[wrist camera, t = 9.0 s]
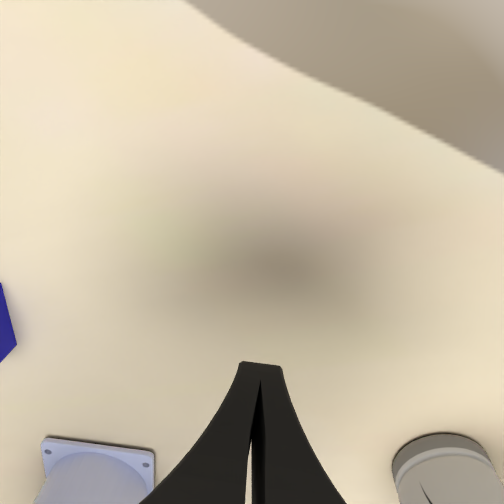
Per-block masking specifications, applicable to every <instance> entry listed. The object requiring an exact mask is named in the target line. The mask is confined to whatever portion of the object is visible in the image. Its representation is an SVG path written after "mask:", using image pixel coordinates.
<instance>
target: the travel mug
mask: <svg viewBox="0 0 504 504" xmlns="http://www.w3.org/2000/svg"><path fill="white" fill-rule="evenodd" d="M392 473H393V478H394V482H395V485H396V489H397V493H398V496H399V501H400V504H504V487H503V485H502V483H501V481H500V479H499V477H498V475H497V474H496V471H495V469H494V467H493V465H492V463H491V461H490V459H489V457H488V455H487V453H486V452H485V450H484V449H483V448H482V447H481V446H480V445H478V444H477V443H476V442H474V441H472V440H470V439H468V438H465V437H462V436H459V435H451V434H438V435H430V436H426V437H423V438H420V439H418V440H415V441H413V442H411V443H410V444H408V445H406V446H405V447H404V448H403V449H402V450H401V451H400V452H399V453H398V454H397V456H396V457H395V460H394V462H393V466H392Z"/></svg>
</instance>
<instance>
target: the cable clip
mask: <svg viewBox="0 0 504 504" xmlns="http://www.w3.org/2000/svg"><path fill="white" fill-rule="evenodd" d="M16 345H17V343H16V339H15V335H14V331H13V328H12V324H11V320H10V316H9V312H8V308H7V304H6V300H5V296H4V293H3V289H2V285H1V283H0V363H1V361H2V360H3V359H4V358H5V357H6V356H7V355H8V354H9V353H10V352H11V351H12V349H13V348H14V347H15V346H16Z"/></svg>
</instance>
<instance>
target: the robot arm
mask: <svg viewBox="0 0 504 504" xmlns="http://www.w3.org/2000/svg"><path fill="white" fill-rule="evenodd" d="M251 439H252V504H346V502H345V501H344V499H343V498H342V497H341V495H340V494H339V492H338V491H337V489H336V488H335V487H334V485H333V484H332V482H331V480H330V479H329V477H328V475H327V474H326V472H325V471H324V469H323V467H322V466H321V464H320V462H319V460H318V459H317V457H316V455H315V453H314V451H313V449H312V447H311V445H310V444H309V441H308V439H307V437H306V435H305V433H304V431H303V429H302V427H301V424H300V422H299V420H298V417H297V415H296V412H295V410H294V407H293V405H292V402H291V399H290V396H289V393H288V390H287V387H286V384H285V380H284V376H283V371H282V368H281V367H280V366H277V365H269V364H261V363H254V362H246V361H242V362H241V363H239V367H238V370H237V373H236V376H235V378H234V381H233V383H232V385H231V387H230V389H229V391H228V393H227V395H226V397H225V399H224V401H223V402H222V404H221V406H220V408H219V409H218V411H217V413H216V414H215V416H214V417H213V419H212V420H211V422H210V423H209V425H208V426H207V428H206V429H205V431H204V432H203V434H202V435H201V436H200V438H199V439H198V440H197V442H196V443H195V444H194V446H193V447H192V448H191V449H190V451H189V452H188V453H187V454H186V455H185V457H184V458H183V459H182V460H181V461H180V462H179V464H178V465H177V466H176V467H175V468H174V469H173V470H172V471H171V473H170V474H169V475H168V476H167V477H166V478H165V479H164V480H163V481H162V482H161V483H160V484H159V485H158V486H157V487H156V488H155V489H154V455H153V453H151V452H150V451H144V450H137V449H129V448H122V447H114V446H107V445H99V444H92V443H84V442H77V441H69V440H62V439H54V438H45V439H44V440H43V441H42V443H41V451H42V457H43V463H44V469H45V475H46V481H45V482H44V484H43V486H42V488H41V490H40V491H39V493H38V495H37V497H36V499H35V501H34V502H33V504H245V492H246V477H247V462H248V455H249V450H250V444H251Z"/></svg>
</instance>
